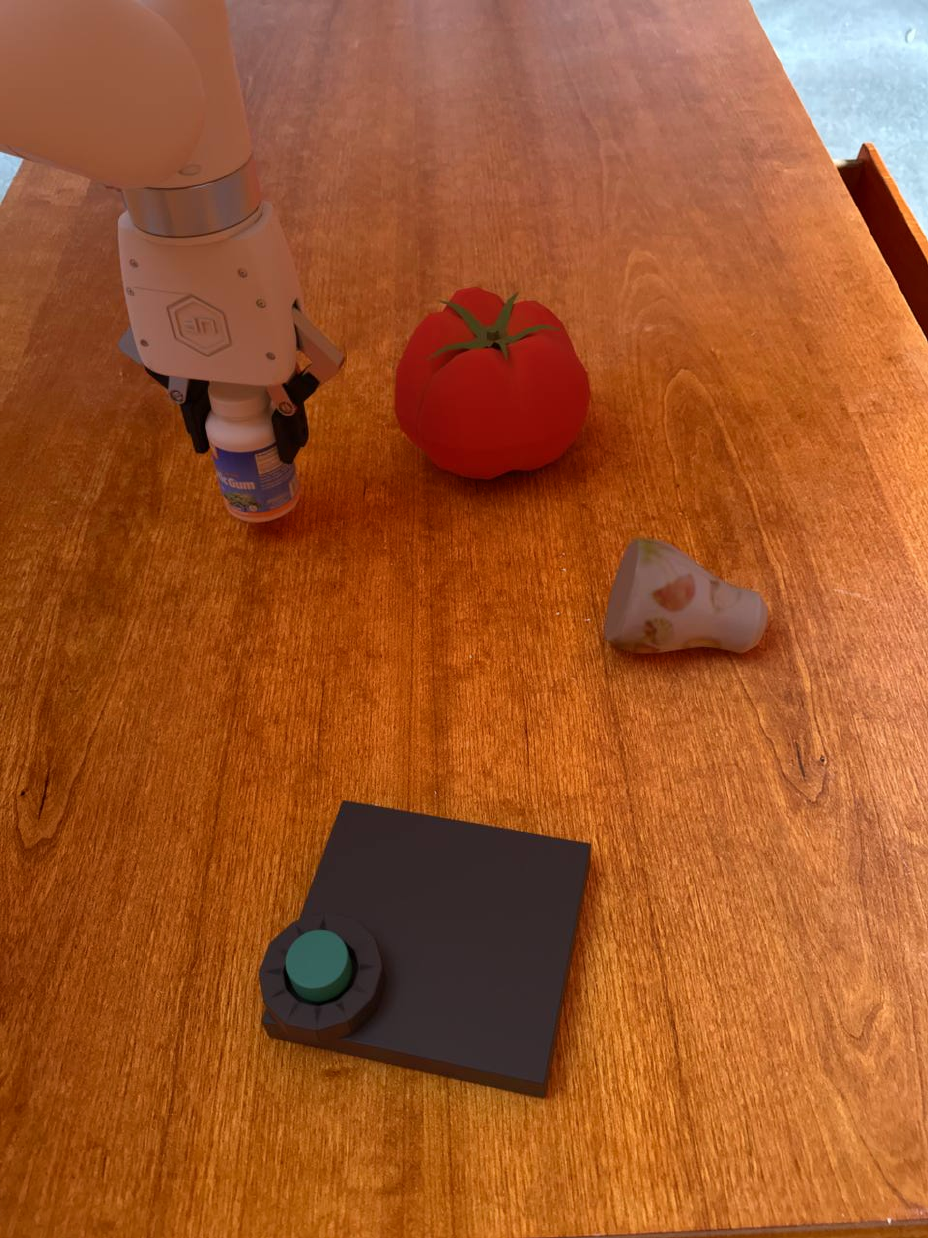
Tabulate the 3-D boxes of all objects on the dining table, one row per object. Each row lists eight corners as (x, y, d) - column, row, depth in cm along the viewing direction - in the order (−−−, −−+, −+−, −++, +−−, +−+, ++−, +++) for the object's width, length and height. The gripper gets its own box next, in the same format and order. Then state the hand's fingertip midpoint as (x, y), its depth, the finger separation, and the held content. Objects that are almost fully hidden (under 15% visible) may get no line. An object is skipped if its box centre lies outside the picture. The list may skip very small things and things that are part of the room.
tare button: (282, 995, 55) (276, 981, 54) (302, 938, 57) (297, 924, 56) (341, 1008, 54) (336, 994, 53) (360, 950, 56) (355, 935, 55)
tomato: (609, 488, 83) (615, 350, 74) (416, 523, 81) (399, 388, 73) (562, 382, 92) (562, 249, 83) (387, 413, 90) (369, 280, 82)
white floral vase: (777, 687, 70) (712, 608, 63) (634, 697, 75) (560, 625, 68) (787, 582, 73) (726, 496, 66) (649, 599, 79) (580, 521, 72)
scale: (256, 1044, 56) (241, 1014, 54) (339, 816, 65) (330, 781, 63) (543, 1109, 53) (542, 1081, 51) (590, 861, 62) (592, 826, 60)
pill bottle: (209, 504, 81) (177, 390, 74) (265, 465, 84) (239, 351, 77) (261, 535, 78) (232, 420, 71) (317, 494, 81) (295, 379, 74)
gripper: (23, 211, 64) (112, 466, 77) (313, 233, 60) (354, 496, 73) (85, 152, 69) (158, 401, 82) (356, 169, 65) (387, 426, 78)
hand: (250, 444), depth 77 cm, fingers closed on pill bottle, 5 cm apart
